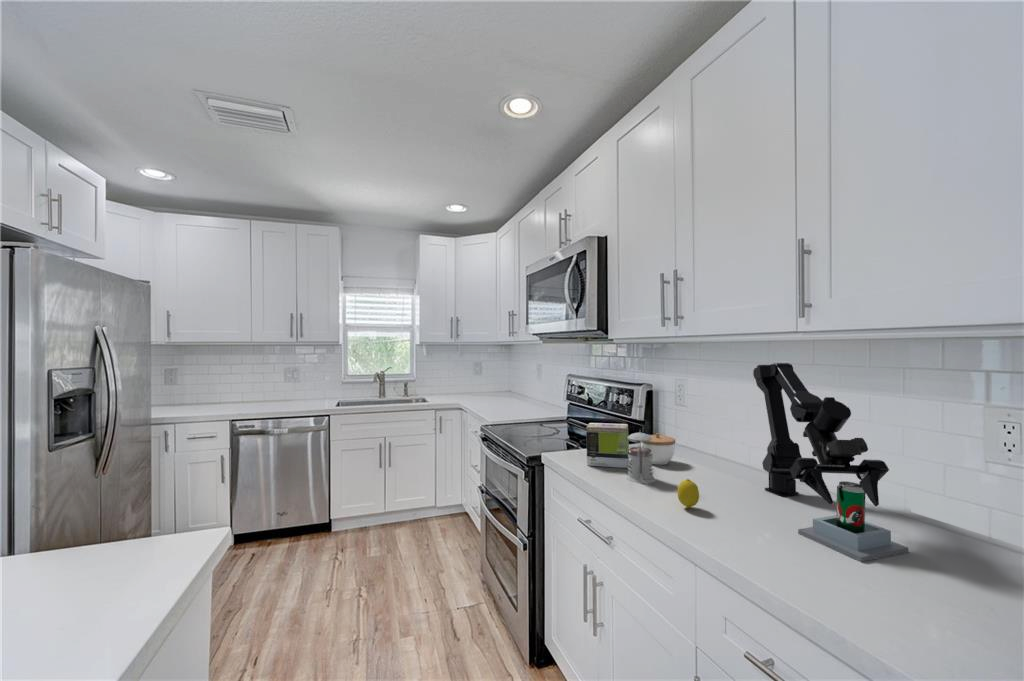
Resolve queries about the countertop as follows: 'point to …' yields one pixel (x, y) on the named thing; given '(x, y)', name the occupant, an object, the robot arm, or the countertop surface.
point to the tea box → (607, 445)
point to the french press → (640, 459)
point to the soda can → (850, 507)
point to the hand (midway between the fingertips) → (854, 504)
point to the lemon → (688, 493)
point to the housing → (853, 539)
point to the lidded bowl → (660, 448)
